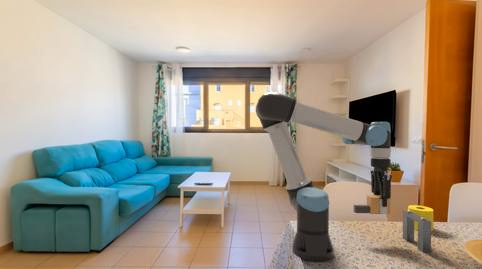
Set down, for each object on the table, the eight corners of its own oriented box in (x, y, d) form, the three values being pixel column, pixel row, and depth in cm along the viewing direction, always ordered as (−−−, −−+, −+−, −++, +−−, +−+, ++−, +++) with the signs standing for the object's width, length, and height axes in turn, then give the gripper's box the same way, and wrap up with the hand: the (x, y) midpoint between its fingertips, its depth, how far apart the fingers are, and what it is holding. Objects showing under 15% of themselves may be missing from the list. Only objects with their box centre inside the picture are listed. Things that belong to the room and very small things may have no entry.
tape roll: (416, 222, 129) (417, 204, 129) (438, 229, 119) (438, 209, 119) (403, 225, 125) (403, 206, 125) (424, 232, 116) (424, 212, 116)
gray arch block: (422, 252, 97) (422, 219, 97) (402, 238, 110) (402, 209, 110) (430, 252, 96) (431, 219, 96) (409, 238, 109) (409, 209, 109)
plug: (356, 213, 108) (356, 197, 108) (352, 210, 112) (352, 195, 112) (390, 214, 107) (390, 197, 107) (385, 211, 111) (385, 195, 111)
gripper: (401, 159, 100) (401, 219, 100) (379, 156, 117) (379, 206, 117) (381, 159, 101) (381, 218, 101) (362, 156, 118) (363, 206, 118)
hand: (380, 212), depth 109 cm, fingers closed on plug, 4 cm apart
